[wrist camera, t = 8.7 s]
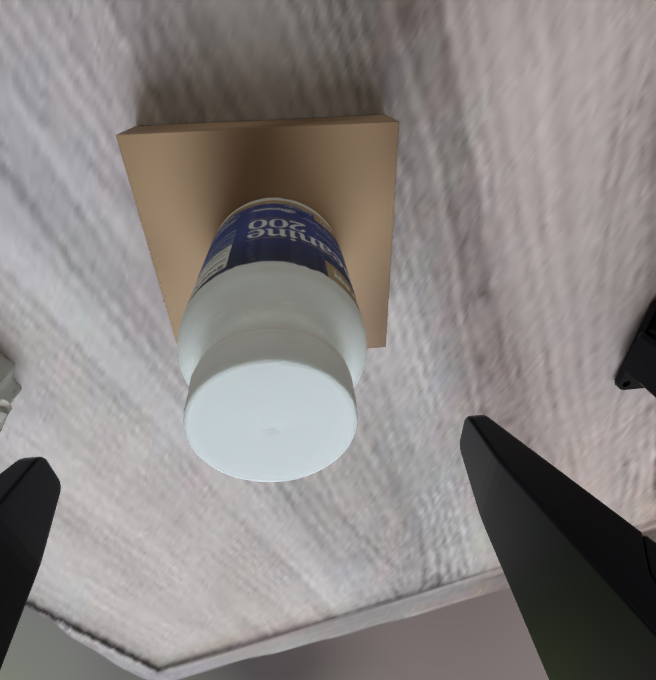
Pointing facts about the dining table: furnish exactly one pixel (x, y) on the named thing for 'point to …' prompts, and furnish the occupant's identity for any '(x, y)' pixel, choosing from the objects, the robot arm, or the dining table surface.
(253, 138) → the tan slab
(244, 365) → the pill bottle
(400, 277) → the dining table surface
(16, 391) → the egg carton
